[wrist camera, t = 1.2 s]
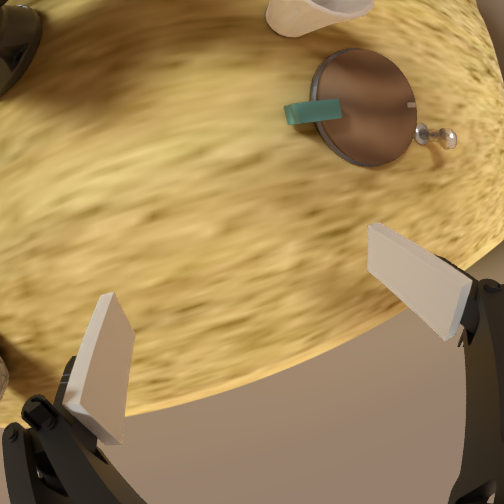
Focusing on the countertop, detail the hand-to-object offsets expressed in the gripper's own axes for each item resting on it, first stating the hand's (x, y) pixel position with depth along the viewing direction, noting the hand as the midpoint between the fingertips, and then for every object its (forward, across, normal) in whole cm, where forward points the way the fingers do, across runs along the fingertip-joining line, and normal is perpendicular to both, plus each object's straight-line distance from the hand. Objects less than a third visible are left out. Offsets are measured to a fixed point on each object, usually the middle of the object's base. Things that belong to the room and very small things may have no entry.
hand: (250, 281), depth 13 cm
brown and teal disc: (+22, +21, +8) cm, 32 cm away
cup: (+24, +14, +22) cm, 35 cm away
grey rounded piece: (+23, +35, +3) cm, 42 cm away
